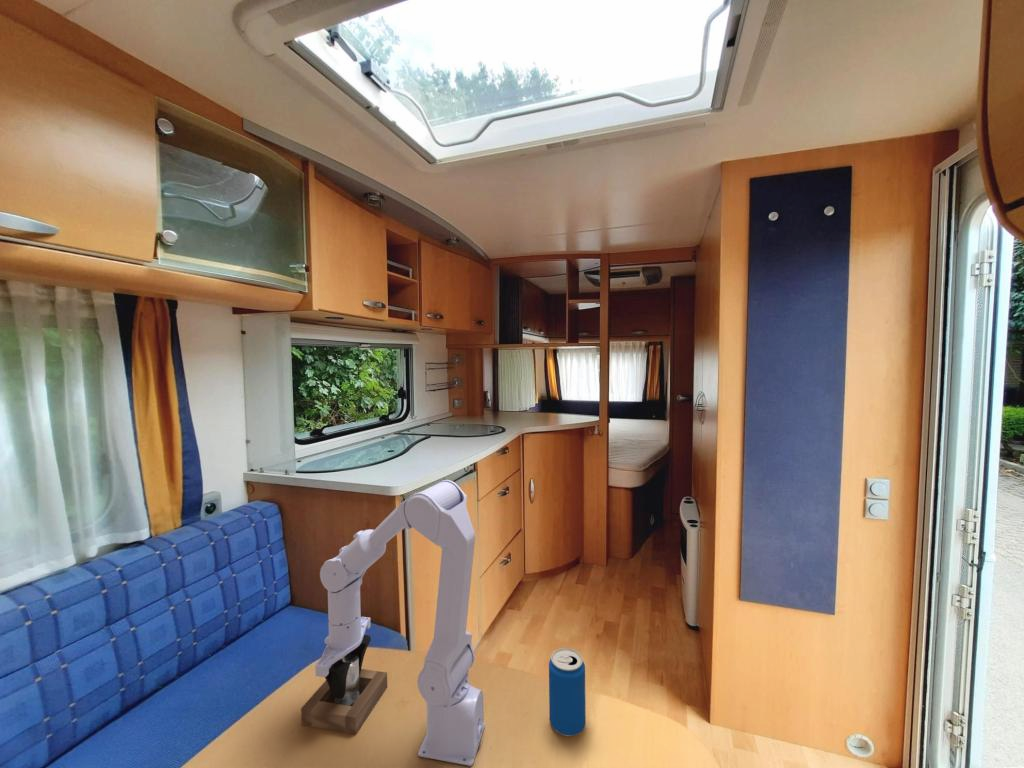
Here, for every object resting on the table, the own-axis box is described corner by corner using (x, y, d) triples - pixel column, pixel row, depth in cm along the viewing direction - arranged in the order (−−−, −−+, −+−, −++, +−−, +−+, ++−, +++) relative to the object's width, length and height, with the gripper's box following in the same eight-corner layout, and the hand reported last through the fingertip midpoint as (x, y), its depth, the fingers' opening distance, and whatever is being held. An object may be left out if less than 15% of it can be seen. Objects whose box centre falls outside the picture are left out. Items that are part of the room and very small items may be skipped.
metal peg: (363, 689, 79) (362, 654, 79) (352, 707, 75) (351, 670, 75) (342, 687, 80) (341, 652, 80) (330, 705, 75) (329, 669, 75)
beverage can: (585, 742, 69) (584, 673, 68) (547, 736, 70) (546, 668, 70) (586, 711, 75) (585, 648, 75) (551, 706, 76) (550, 644, 76)
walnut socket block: (387, 687, 82) (387, 672, 82) (356, 734, 71) (355, 717, 71) (339, 679, 84) (338, 665, 84) (301, 724, 73) (301, 708, 73)
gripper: (348, 594, 85) (350, 657, 85) (299, 638, 71) (301, 714, 71) (379, 597, 84) (380, 661, 84) (335, 643, 69) (337, 720, 70)
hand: (346, 686), depth 77 cm, fingers closed on metal peg, 4 cm apart
